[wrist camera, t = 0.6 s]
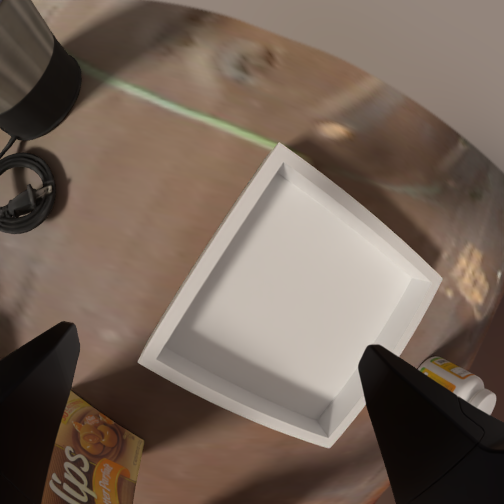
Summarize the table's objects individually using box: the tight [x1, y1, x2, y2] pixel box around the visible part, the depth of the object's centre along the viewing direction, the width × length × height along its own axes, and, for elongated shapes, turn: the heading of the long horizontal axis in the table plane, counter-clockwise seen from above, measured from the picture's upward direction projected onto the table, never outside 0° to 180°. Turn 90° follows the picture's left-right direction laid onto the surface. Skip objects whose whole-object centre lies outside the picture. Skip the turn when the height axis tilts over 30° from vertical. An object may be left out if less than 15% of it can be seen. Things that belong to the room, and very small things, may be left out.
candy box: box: [41, 391, 144, 504], centre depth 15 cm, size 9×4×15 cm, turn 52°
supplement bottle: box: [418, 356, 496, 415], centre depth 24 cm, size 5×5×10 cm
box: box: [138, 143, 443, 448], centre depth 23 cm, size 18×18×4 cm
